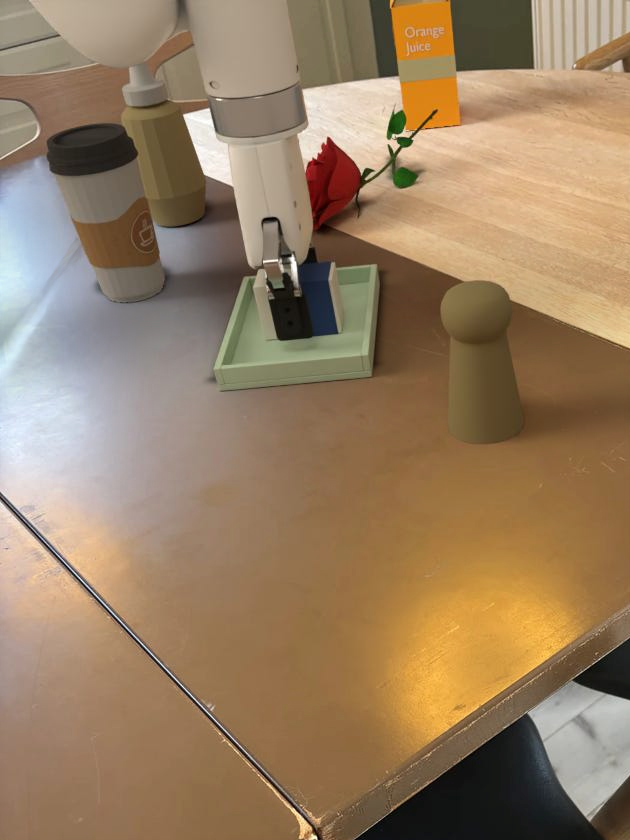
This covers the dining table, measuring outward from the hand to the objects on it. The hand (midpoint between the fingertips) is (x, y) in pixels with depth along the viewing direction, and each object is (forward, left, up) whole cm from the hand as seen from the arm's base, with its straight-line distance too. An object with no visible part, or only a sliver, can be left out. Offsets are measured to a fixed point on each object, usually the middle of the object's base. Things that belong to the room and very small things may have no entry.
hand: (301, 314), depth 93 cm
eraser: (0, 0, -1) cm, 1 cm away
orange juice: (+12, +64, -2) cm, 65 cm away
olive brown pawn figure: (+16, -19, -2) cm, 25 cm away
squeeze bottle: (-18, +34, -2) cm, 39 cm away
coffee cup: (-19, +14, -2) cm, 24 cm away
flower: (+5, +37, -2) cm, 37 cm away
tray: (0, 0, -2) cm, 2 cm away
